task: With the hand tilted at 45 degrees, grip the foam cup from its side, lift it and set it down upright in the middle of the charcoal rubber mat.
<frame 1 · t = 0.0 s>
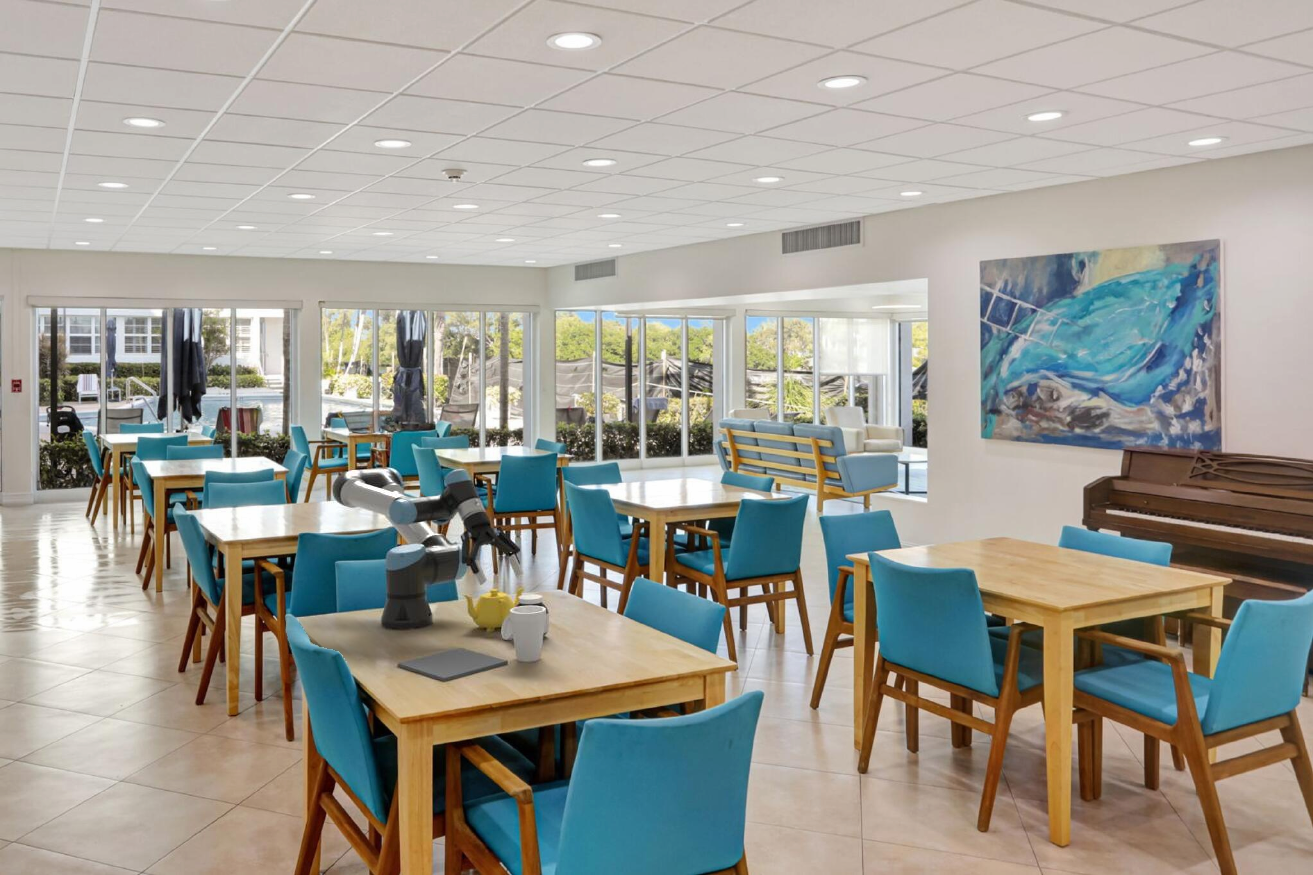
hand: (502, 579, 299), 15 cm above the table, tool tilted 35°, fingers open, 13 cm apart
spread jar: (524, 638, 291), on the table
foam cup: (528, 659, 270), on the table
teapot: (496, 629, 303), on the table
rubber mat: (452, 665, 264), on the table
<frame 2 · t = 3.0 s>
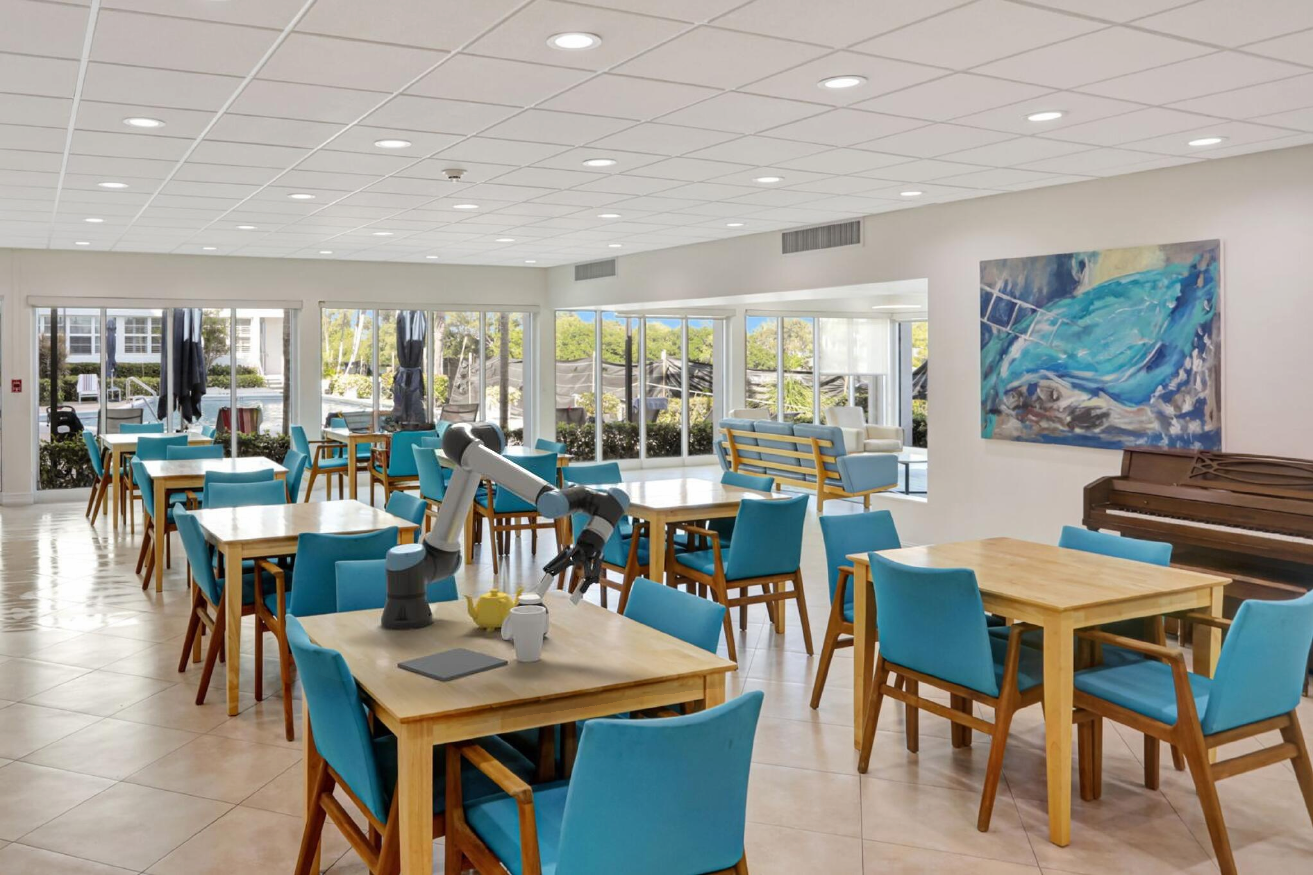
hand: (555, 598, 276), 14 cm above the table, tool tilted 45°, fingers open, 13 cm apart
nothing on the table moved.
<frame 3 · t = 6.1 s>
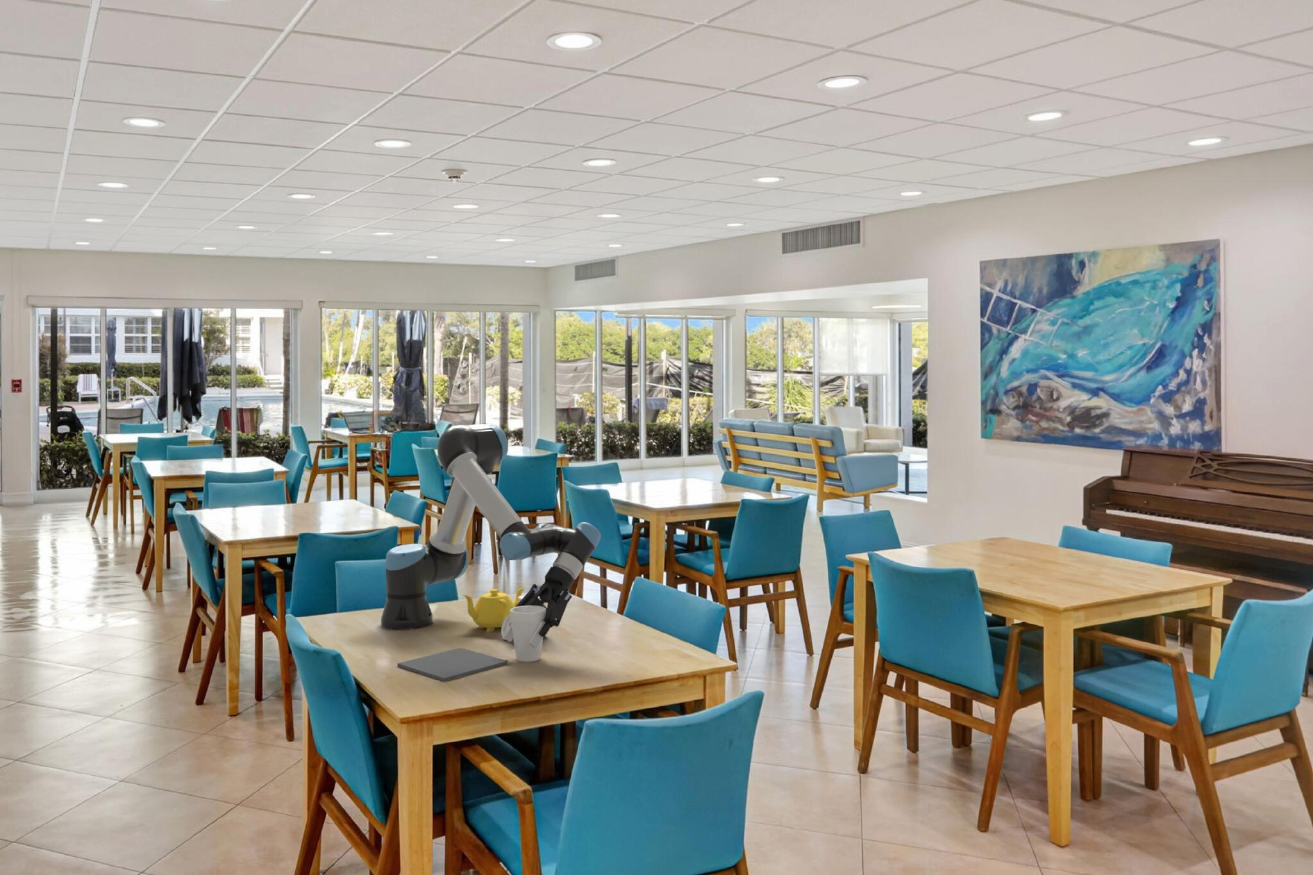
hand: (519, 642, 268), 5 cm above the table, tool tilted 45°, fingers closed on foam cup, 9 cm apart
foam cup: (528, 658, 270), on the table, touching gripper
everything else where it was.
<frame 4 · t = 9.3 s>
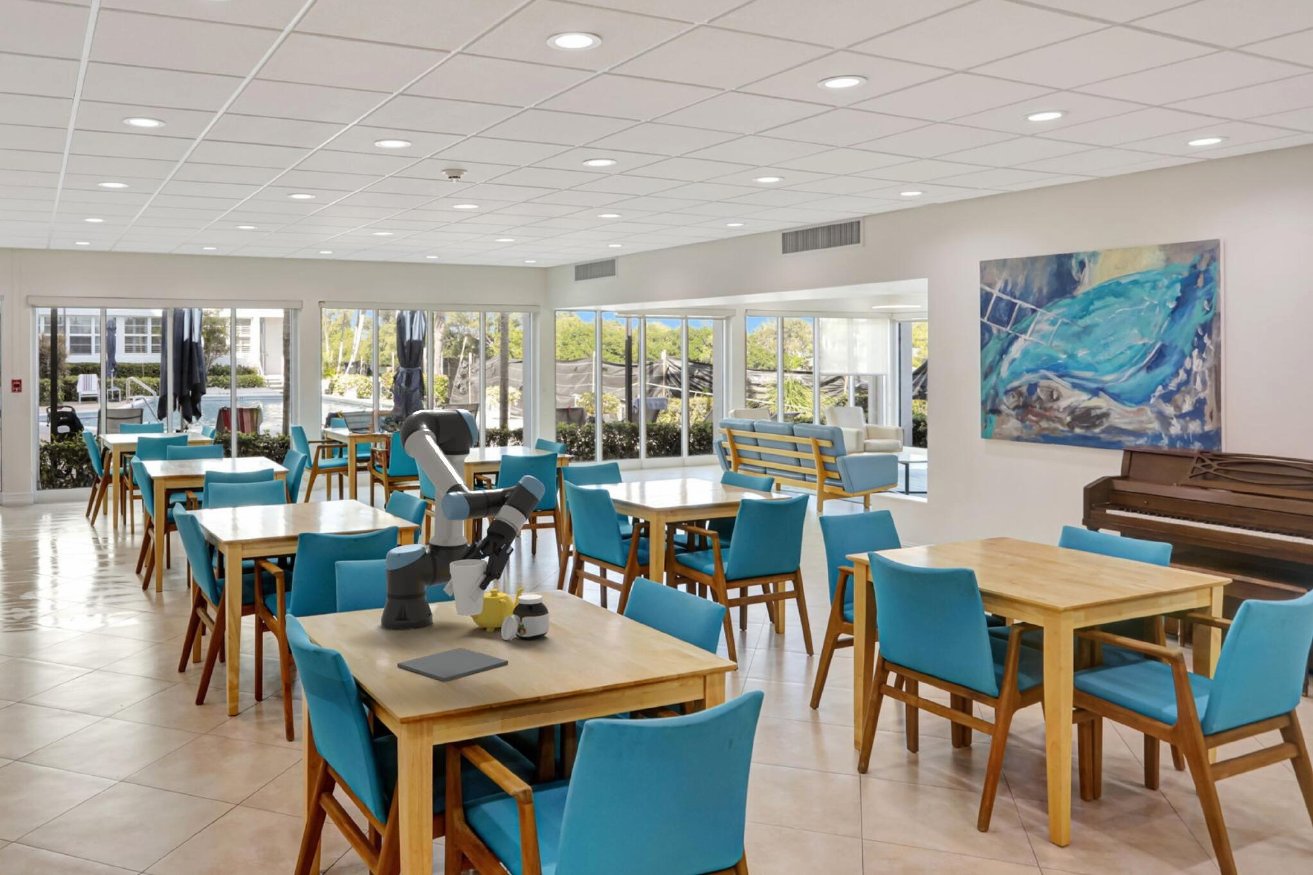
hand: (459, 596, 262), 18 cm above the table, tool tilted 45°, fingers closed on foam cup, 9 cm apart
foam cup: (469, 613, 264), point 13 cm above the table, touching gripper
everything else where it was.
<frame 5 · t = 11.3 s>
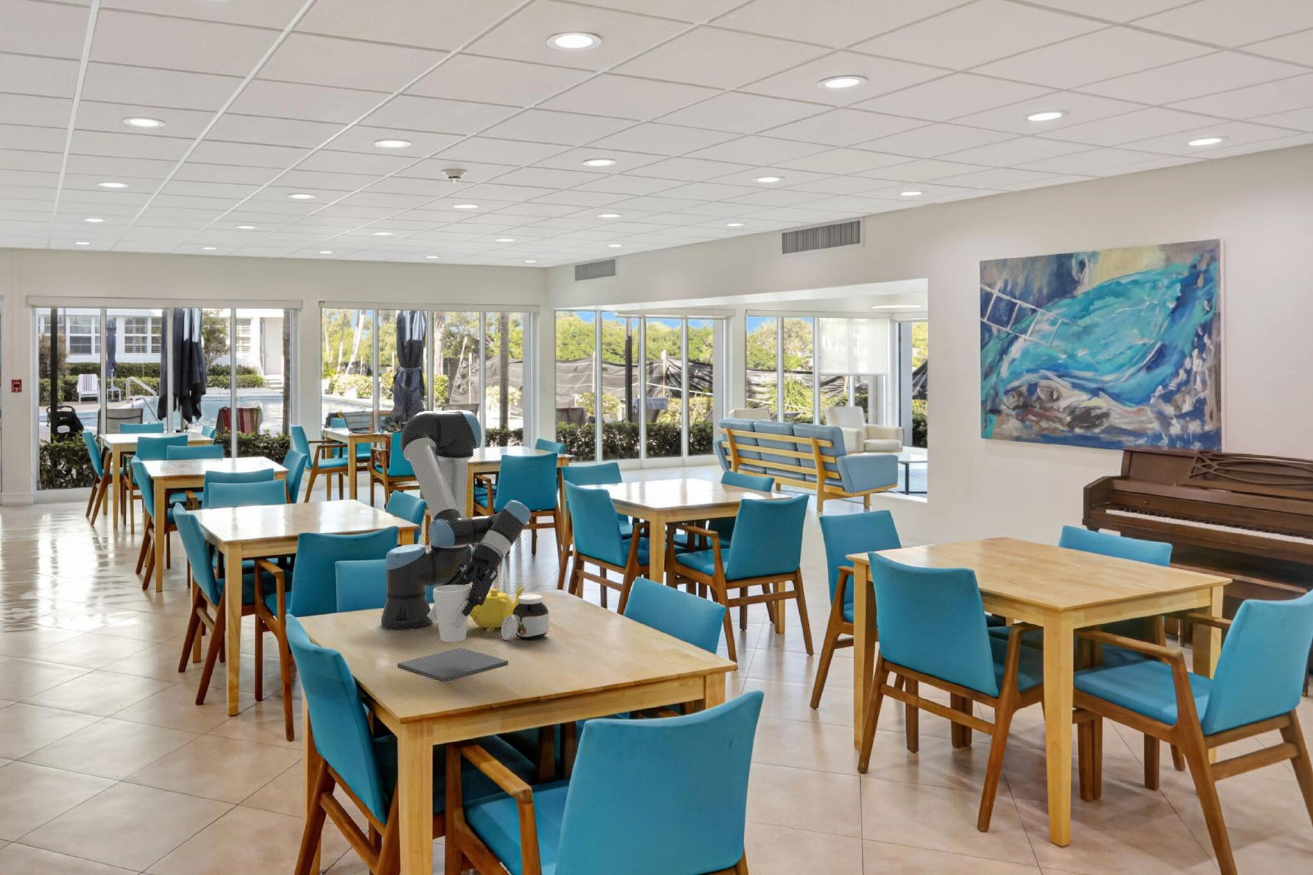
hand: (442, 621, 261), 12 cm above the table, tool tilted 45°, fingers closed on foam cup, 9 cm apart
foam cup: (453, 639, 264), point 7 cm above the table, touching gripper
everything else where it was.
when the fingers open (7 cm above the table, at t = 12.9 s): foam cup drops 1 cm, resting on rubber mat.
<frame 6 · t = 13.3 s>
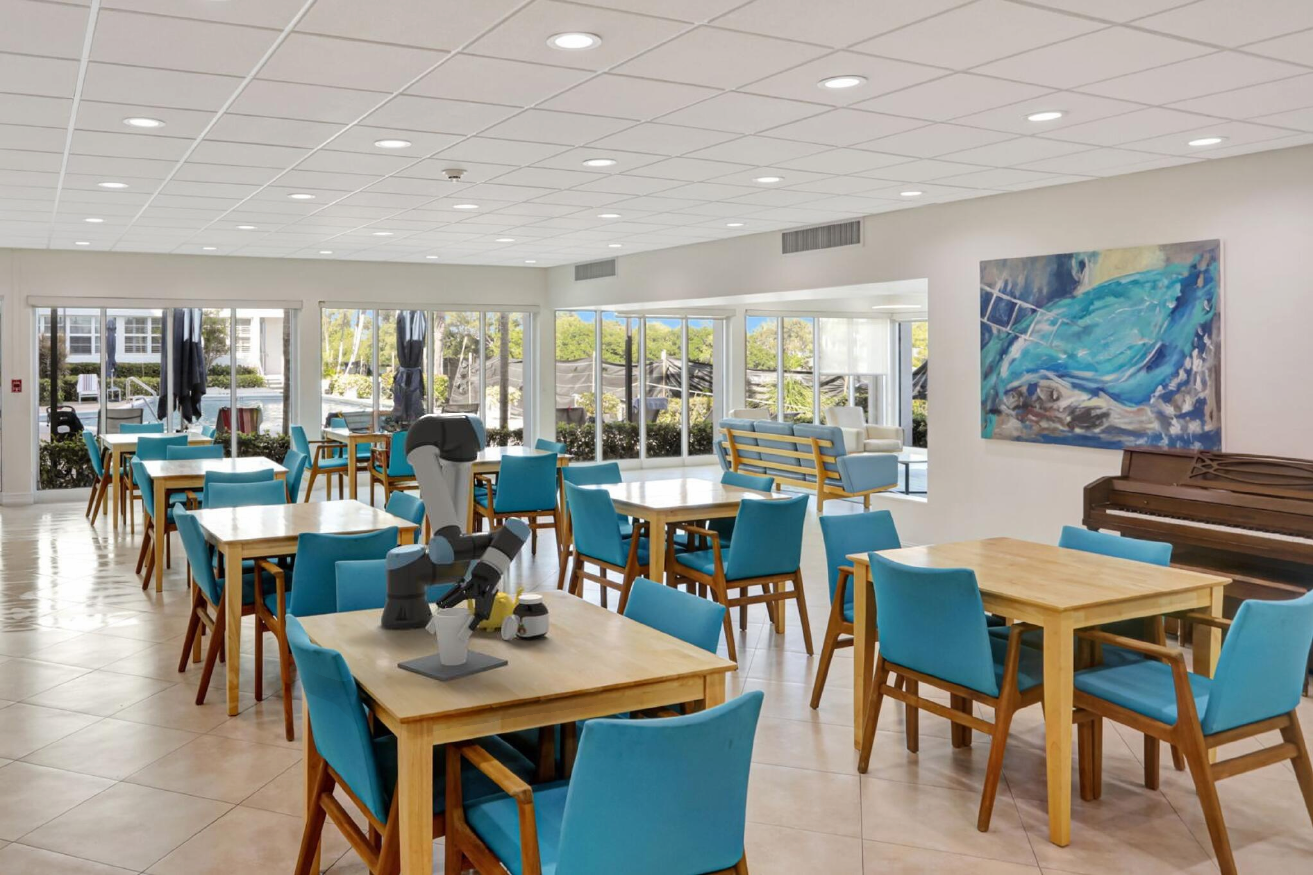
hand: (444, 635, 262), 8 cm above the table, tool tilted 45°, fingers open, 13 cm apart
foam cup: (453, 662, 264), point 1 cm above the table, touching rubber mat
everything else where it was.
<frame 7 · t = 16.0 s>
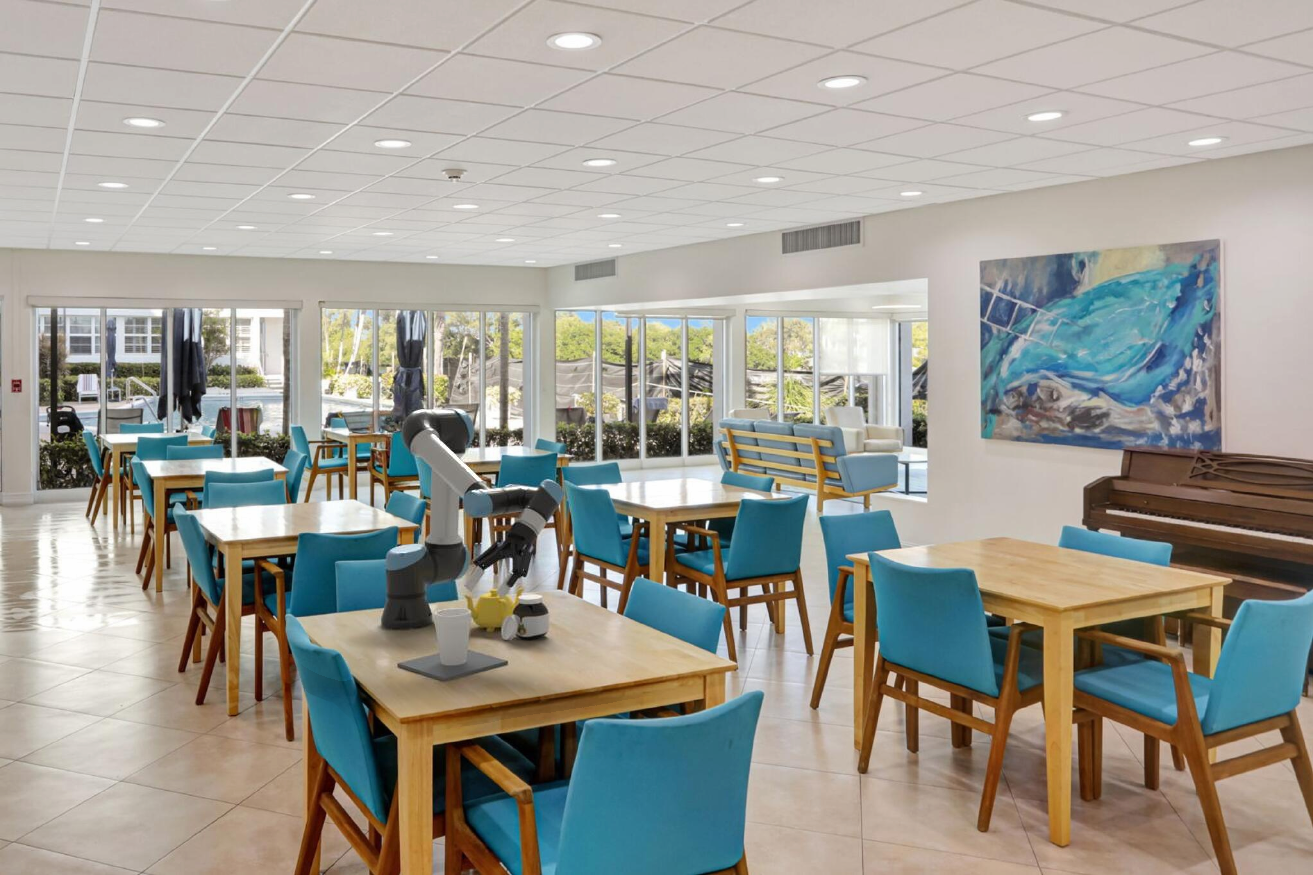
hand: (483, 592, 271), 17 cm above the table, tool tilted 45°, fingers open, 13 cm apart
nothing on the table moved.
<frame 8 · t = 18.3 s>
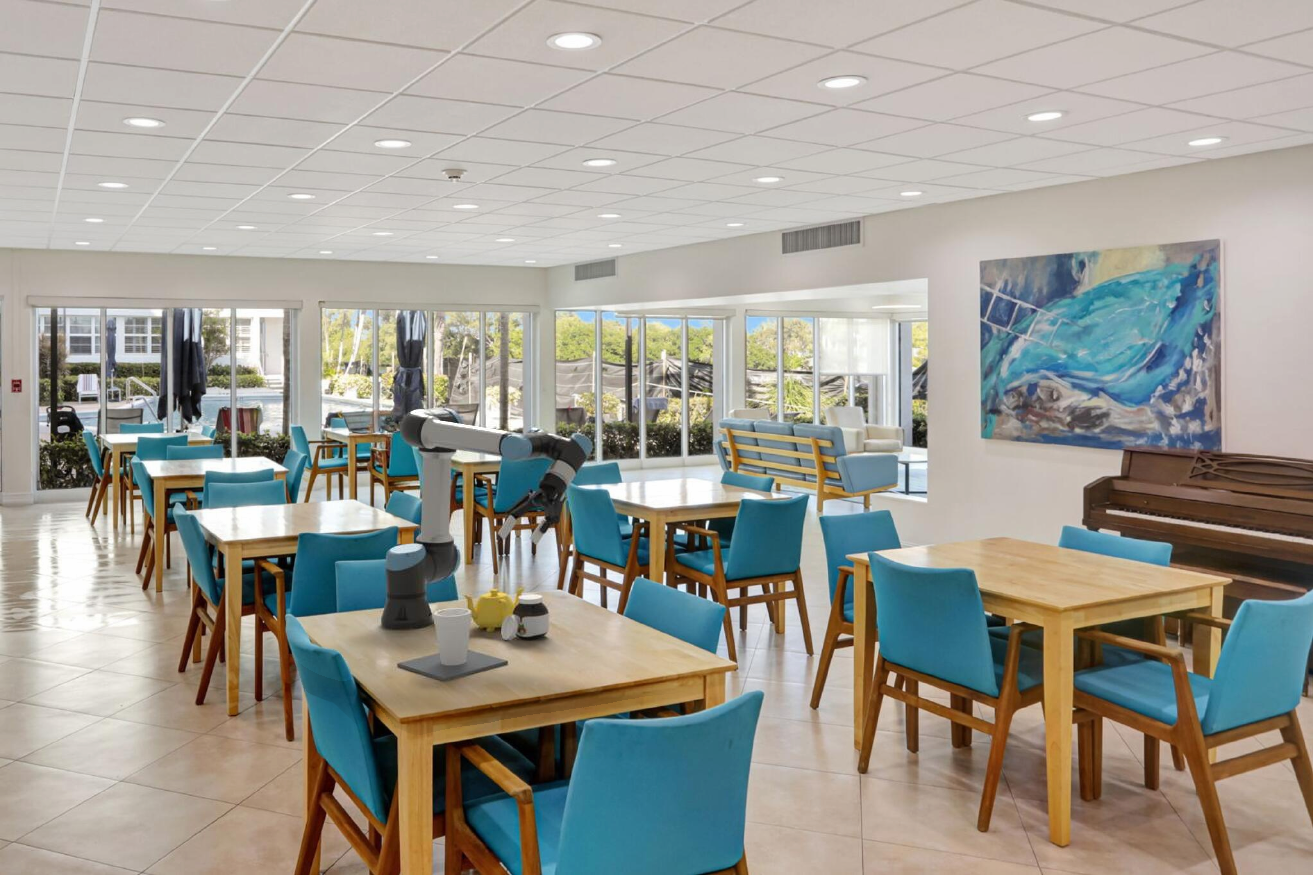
hand: (516, 538, 281), 30 cm above the table, tool tilted 45°, fingers open, 13 cm apart
nothing on the table moved.
at the end: foam cup inside the target area on the rubber mat (0.2 cm from its centre), point 0.6 cm above the rubber mat's base; foam cup tilted 0°; the gripper is holding nothing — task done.
